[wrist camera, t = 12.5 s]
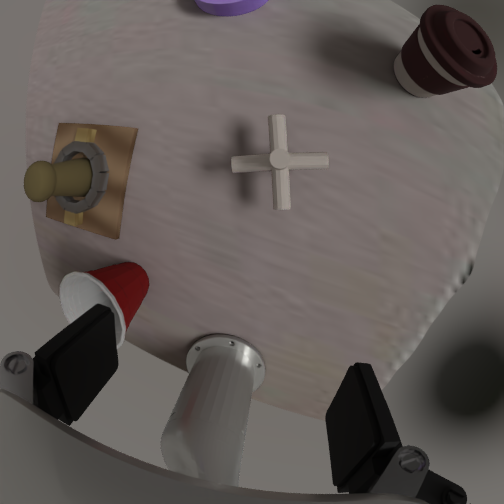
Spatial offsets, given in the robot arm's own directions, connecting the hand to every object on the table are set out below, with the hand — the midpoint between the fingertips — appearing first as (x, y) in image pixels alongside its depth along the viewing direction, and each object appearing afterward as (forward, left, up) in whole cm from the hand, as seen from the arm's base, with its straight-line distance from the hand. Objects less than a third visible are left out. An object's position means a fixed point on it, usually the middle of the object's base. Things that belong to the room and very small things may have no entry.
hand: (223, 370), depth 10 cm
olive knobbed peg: (+2, +28, -26) cm, 38 cm away
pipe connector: (+9, 0, -27) cm, 28 cm away
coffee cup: (+28, -15, -27) cm, 41 cm away
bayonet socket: (+2, +28, -27) cm, 39 cm away
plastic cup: (-12, +17, -27) cm, 34 cm away
